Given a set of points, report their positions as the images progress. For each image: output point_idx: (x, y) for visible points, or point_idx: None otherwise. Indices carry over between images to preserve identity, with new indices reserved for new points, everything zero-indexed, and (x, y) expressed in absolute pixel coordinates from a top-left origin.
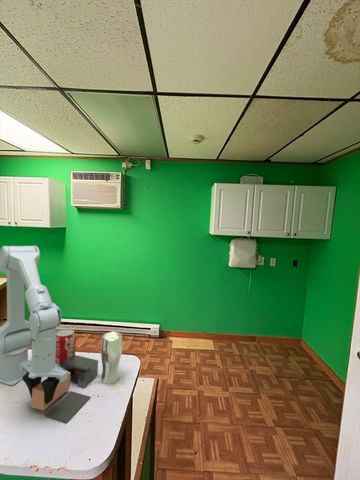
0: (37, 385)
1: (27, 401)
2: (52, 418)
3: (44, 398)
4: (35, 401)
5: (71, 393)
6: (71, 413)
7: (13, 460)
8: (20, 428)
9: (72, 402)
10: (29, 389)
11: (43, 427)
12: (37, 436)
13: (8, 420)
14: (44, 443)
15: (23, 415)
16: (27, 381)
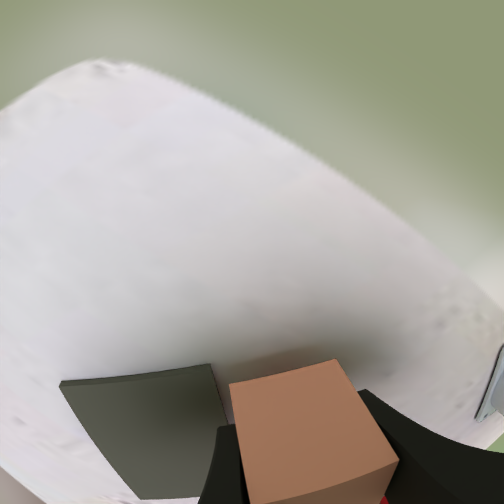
0: (384, 484)
1: (400, 358)
2: (151, 375)
3: (237, 456)
4: (316, 399)
5: None
6: (99, 429)
7: (63, 82)
8: (255, 230)
9: (171, 466)
10: (418, 435)
11: (130, 311)
12: (93, 251)
13: (382, 230)
14: (22, 243)
15: (339, 300)
16: (478, 489)
